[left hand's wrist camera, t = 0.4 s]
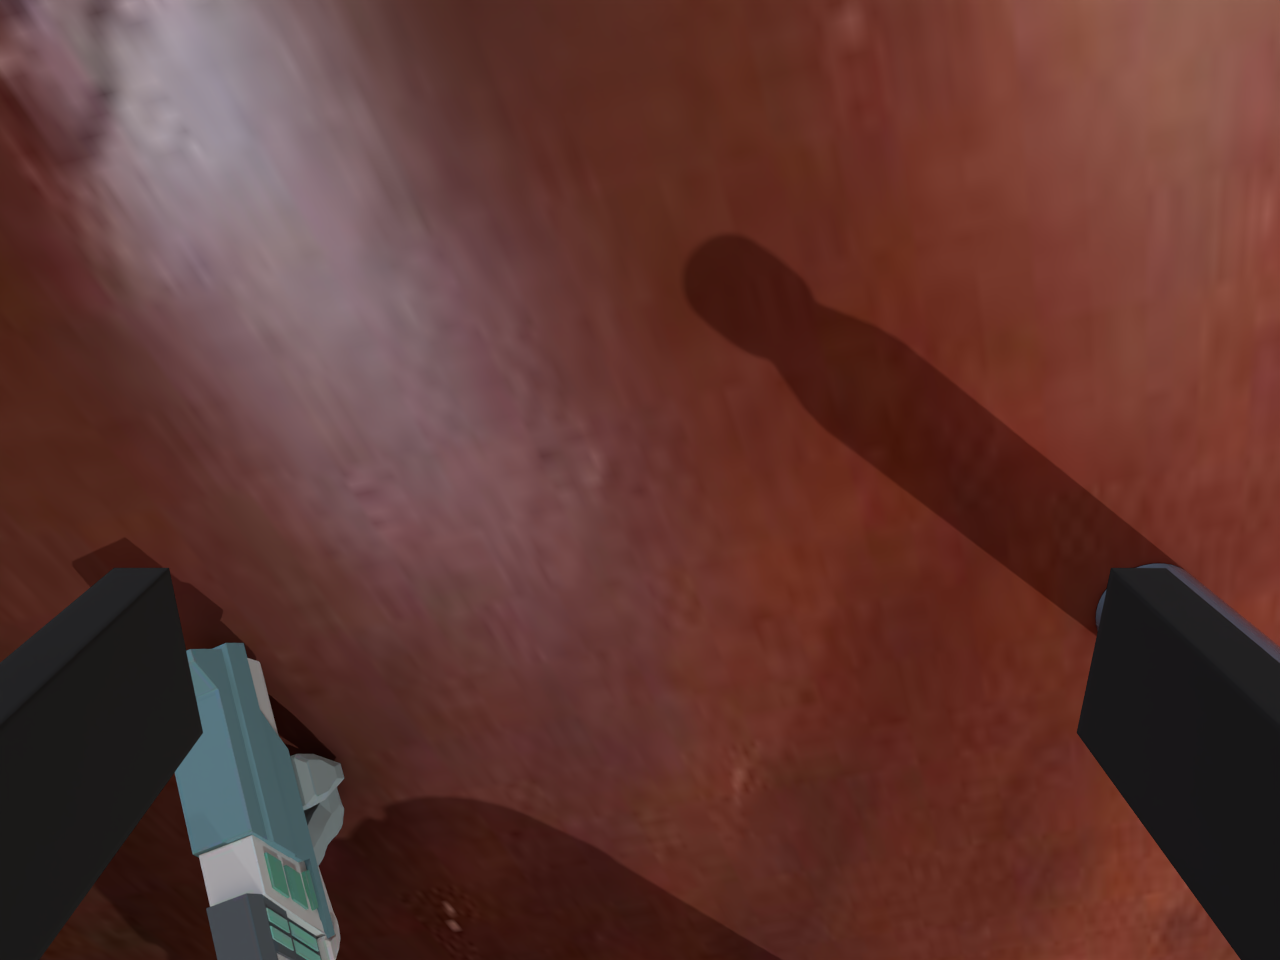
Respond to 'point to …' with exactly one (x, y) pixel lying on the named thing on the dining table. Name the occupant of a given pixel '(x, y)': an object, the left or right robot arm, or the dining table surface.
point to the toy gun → (257, 818)
